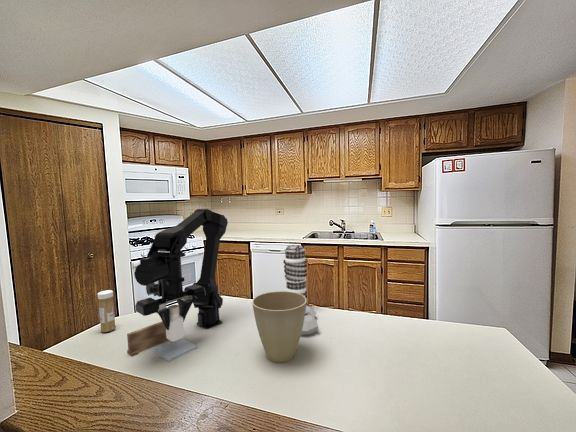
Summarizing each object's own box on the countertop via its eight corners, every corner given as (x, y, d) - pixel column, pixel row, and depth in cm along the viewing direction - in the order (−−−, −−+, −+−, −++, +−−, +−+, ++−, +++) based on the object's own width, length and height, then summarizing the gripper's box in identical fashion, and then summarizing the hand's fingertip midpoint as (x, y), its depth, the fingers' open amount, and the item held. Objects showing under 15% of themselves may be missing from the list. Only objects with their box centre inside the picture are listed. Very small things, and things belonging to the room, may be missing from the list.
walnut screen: (172, 334, 94) (171, 316, 93) (177, 337, 92) (176, 318, 91) (127, 352, 83) (125, 333, 83) (131, 356, 81) (130, 336, 80)
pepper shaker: (185, 337, 84) (183, 306, 83) (172, 343, 81) (170, 310, 80) (178, 333, 86) (176, 303, 86) (165, 339, 83) (163, 307, 83)
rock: (312, 312, 108) (311, 287, 108) (326, 337, 88) (326, 307, 88) (264, 316, 106) (263, 291, 105) (268, 343, 86) (267, 312, 85)
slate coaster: (181, 339, 90) (181, 337, 90) (197, 348, 84) (197, 346, 84) (153, 351, 83) (153, 349, 83) (168, 362, 77) (168, 360, 77)
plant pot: (298, 376, 69) (296, 313, 68) (244, 366, 74) (242, 307, 73) (314, 346, 83) (312, 293, 82) (267, 338, 88) (266, 288, 87)
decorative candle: (301, 315, 105) (299, 248, 103) (280, 310, 110) (278, 247, 108) (312, 307, 113) (310, 244, 111) (292, 303, 118) (290, 243, 116)
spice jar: (116, 330, 98) (113, 292, 97) (100, 334, 95) (97, 294, 94) (115, 325, 102) (112, 288, 101) (100, 329, 99) (97, 291, 98)
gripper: (185, 264, 94) (188, 310, 96) (125, 278, 80) (129, 331, 81) (205, 269, 87) (208, 318, 88) (142, 285, 73) (146, 343, 74)
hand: (174, 326), depth 83 cm, fingers closed on pepper shaker, 4 cm apart
